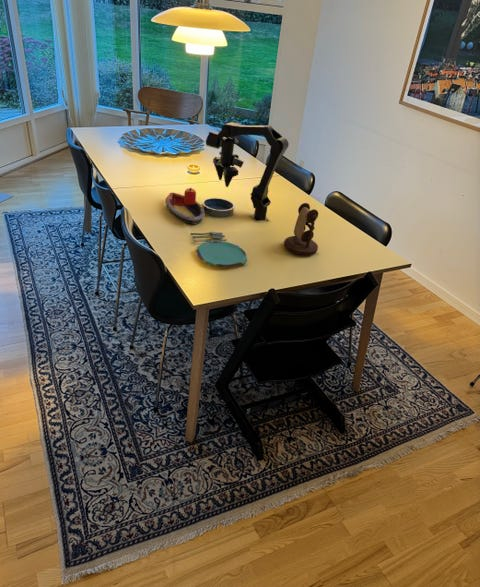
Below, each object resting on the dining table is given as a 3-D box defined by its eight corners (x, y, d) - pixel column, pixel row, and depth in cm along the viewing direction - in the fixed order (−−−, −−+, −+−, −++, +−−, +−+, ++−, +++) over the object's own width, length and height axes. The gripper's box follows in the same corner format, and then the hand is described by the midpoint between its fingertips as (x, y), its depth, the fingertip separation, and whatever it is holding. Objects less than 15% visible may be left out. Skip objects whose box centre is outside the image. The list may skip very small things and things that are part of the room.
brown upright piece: (277, 242, 198) (285, 200, 187) (305, 240, 203) (315, 198, 193) (293, 258, 187) (303, 214, 176) (323, 255, 193) (334, 212, 182)
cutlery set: (204, 271, 169) (204, 266, 168) (185, 235, 192) (185, 230, 191) (252, 268, 176) (253, 263, 175) (229, 233, 199) (229, 229, 197)
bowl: (238, 217, 215) (239, 209, 213) (208, 219, 209) (208, 211, 207) (226, 204, 226) (227, 197, 224) (197, 206, 220) (198, 198, 218)
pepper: (196, 204, 210) (198, 189, 206) (185, 204, 208) (186, 190, 204) (193, 199, 214) (194, 185, 210) (182, 200, 212) (183, 185, 208)
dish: (179, 228, 197) (180, 218, 194) (158, 201, 219) (158, 191, 216) (211, 226, 203) (212, 215, 200) (188, 199, 225) (188, 190, 223)
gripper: (250, 157, 205) (246, 190, 213) (235, 145, 219) (231, 176, 227) (228, 157, 200) (224, 190, 209) (214, 145, 214) (211, 176, 223)
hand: (223, 183), depth 217 cm, fingers open, 9 cm apart
